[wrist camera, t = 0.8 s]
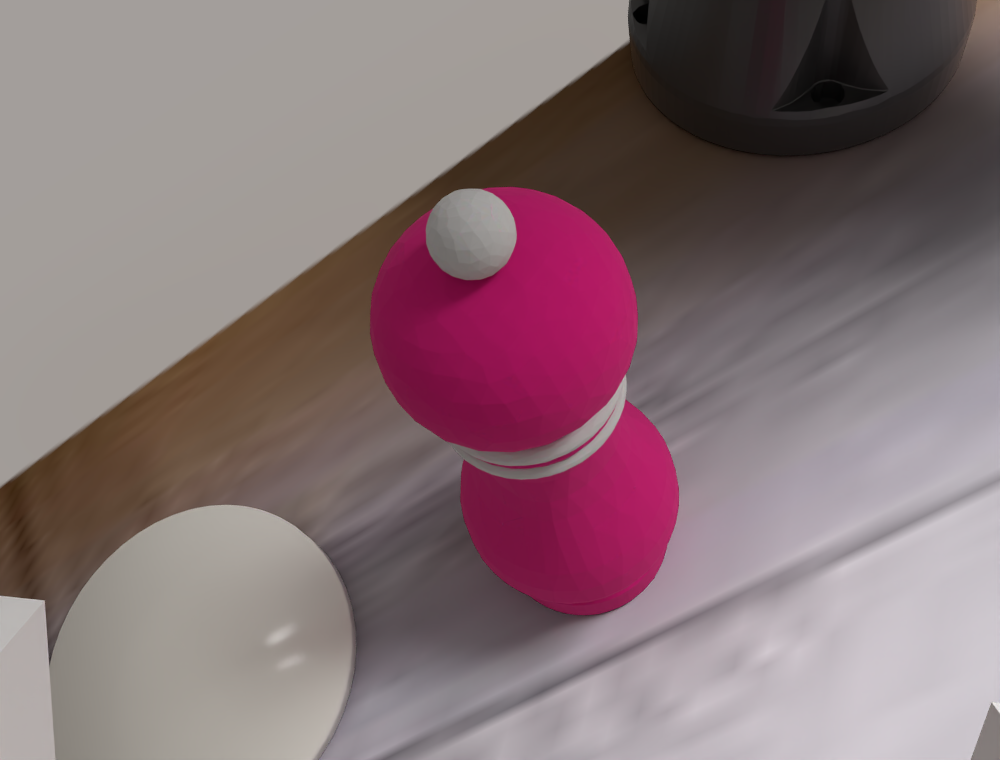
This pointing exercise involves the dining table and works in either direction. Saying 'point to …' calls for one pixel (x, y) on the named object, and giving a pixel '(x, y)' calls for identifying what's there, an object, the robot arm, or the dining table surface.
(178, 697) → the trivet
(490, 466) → the pepper mill
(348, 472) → the dining table surface
